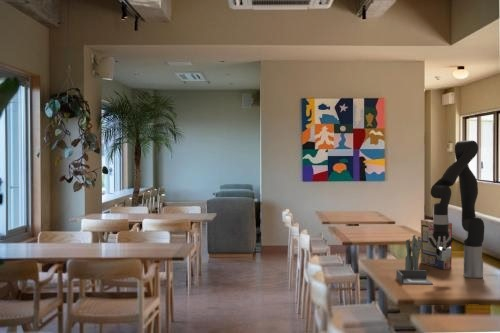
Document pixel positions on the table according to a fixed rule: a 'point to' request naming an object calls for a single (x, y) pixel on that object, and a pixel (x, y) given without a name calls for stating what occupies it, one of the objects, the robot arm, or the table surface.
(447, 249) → the l bracket
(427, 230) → the board game box
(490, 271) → the table surface
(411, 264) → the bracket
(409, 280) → the grey l-shaped slot base
